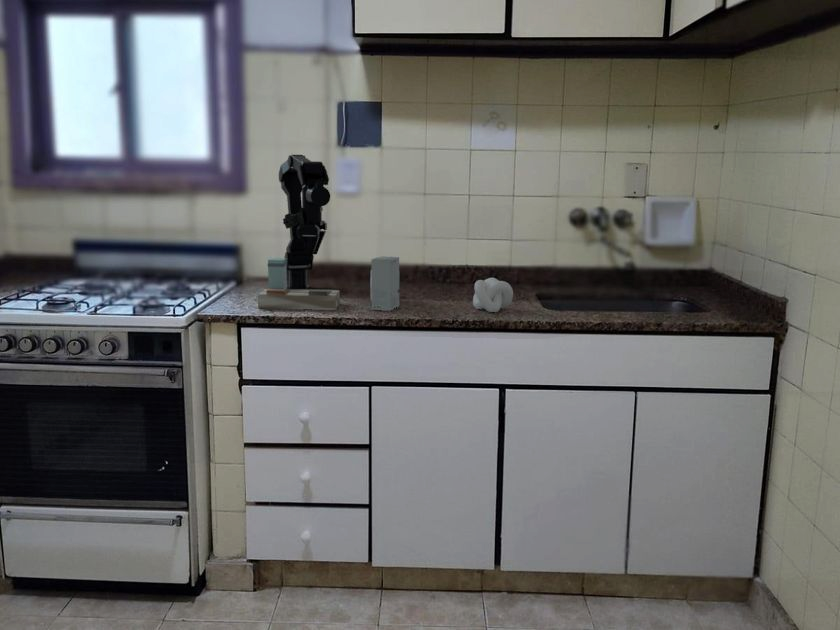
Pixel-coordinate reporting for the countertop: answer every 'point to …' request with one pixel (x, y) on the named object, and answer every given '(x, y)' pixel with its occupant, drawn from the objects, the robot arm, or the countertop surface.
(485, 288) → the white knot
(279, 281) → the teal lidded box
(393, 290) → the skincare box
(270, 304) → the socket board
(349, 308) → the countertop surface
